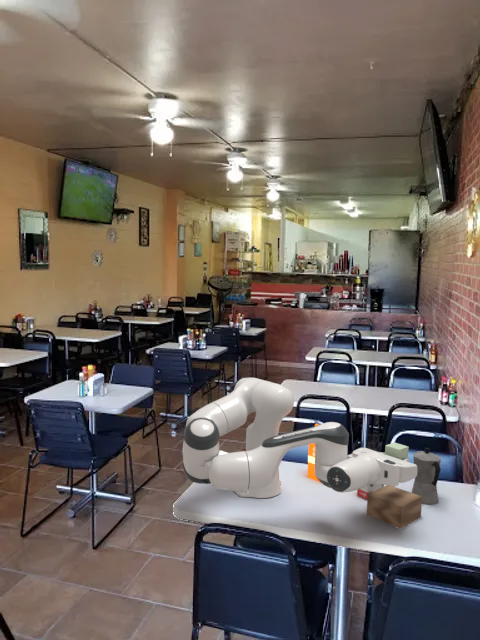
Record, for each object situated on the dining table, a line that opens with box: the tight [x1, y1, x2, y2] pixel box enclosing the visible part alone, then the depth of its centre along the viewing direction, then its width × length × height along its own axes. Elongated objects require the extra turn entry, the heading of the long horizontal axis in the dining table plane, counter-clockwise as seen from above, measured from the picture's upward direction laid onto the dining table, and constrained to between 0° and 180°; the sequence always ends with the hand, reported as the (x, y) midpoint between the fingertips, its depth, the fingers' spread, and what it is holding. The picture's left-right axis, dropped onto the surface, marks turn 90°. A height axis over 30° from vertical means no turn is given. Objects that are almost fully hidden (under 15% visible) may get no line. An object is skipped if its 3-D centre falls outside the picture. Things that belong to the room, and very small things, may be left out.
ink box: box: [356, 484, 385, 500], centre depth 176 cm, size 8×5×12 cm, turn 123°
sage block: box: [384, 442, 409, 460], centre depth 159 cm, size 5×5×10 cm
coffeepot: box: [411, 447, 442, 506], centre depth 172 cm, size 15×9×18 cm, turn 6°
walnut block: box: [366, 485, 423, 530], centre depth 161 cm, size 12×12×7 cm
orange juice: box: [307, 423, 321, 483], centre depth 189 cm, size 8×9×20 cm
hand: (398, 457), depth 160 cm, fingers closed on sage block, 5 cm apart
